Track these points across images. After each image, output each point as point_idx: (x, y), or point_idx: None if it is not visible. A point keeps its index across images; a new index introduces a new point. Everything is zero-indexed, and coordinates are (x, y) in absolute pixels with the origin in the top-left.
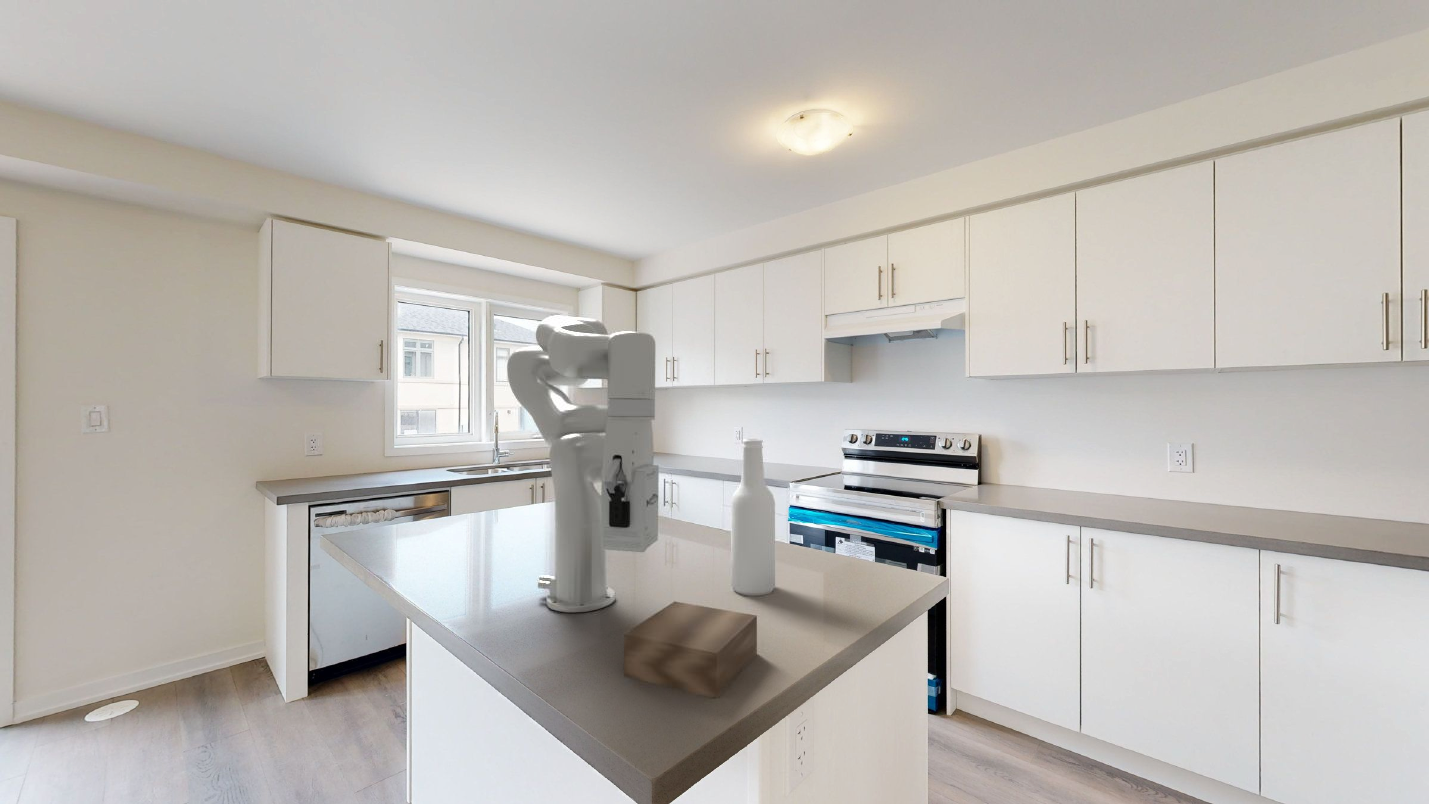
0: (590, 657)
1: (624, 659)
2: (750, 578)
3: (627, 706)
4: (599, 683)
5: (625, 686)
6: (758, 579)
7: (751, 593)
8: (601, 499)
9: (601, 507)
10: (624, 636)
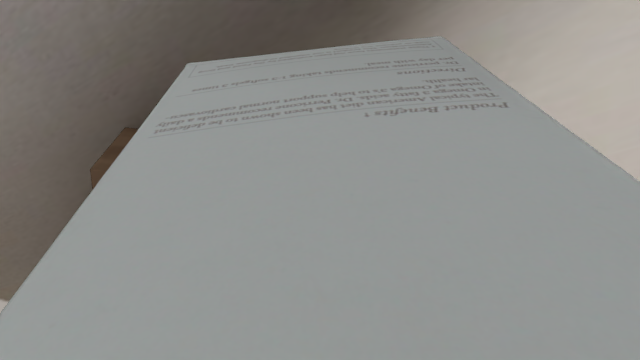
0: (163, 9)
1: (112, 143)
2: None
3: (33, 181)
4: (70, 95)
5: (90, 148)
6: None
7: None
8: (45, 253)
9: (88, 197)
10: (93, 167)
